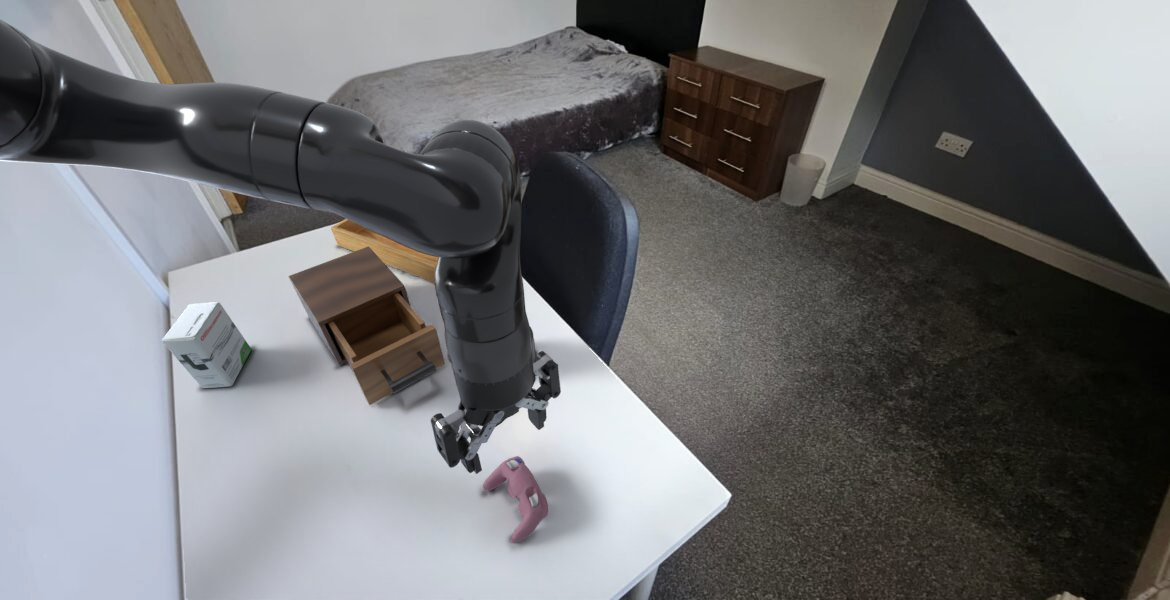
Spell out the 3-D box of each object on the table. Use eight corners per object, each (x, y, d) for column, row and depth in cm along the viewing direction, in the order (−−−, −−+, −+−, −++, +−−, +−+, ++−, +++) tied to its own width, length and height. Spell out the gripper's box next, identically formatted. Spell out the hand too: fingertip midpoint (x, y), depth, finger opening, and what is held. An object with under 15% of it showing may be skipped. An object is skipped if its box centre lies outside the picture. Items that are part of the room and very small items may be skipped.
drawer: (459, 380, 79) (450, 344, 73) (382, 425, 72) (365, 389, 66) (408, 319, 89) (396, 284, 84) (336, 353, 83) (318, 317, 77)
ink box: (224, 351, 84) (188, 301, 76) (253, 349, 84) (221, 299, 76) (200, 390, 77) (157, 340, 70) (231, 387, 78) (193, 337, 70)
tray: (338, 246, 109) (329, 225, 105) (387, 216, 119) (381, 196, 115) (440, 288, 98) (435, 267, 94) (485, 252, 108) (482, 231, 104)
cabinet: (417, 328, 89) (404, 285, 82) (339, 366, 82) (317, 322, 75) (383, 287, 98) (368, 246, 91) (309, 319, 90) (287, 276, 83)
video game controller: (540, 537, 62) (559, 502, 60) (511, 549, 59) (530, 513, 56) (506, 478, 68) (522, 444, 66) (478, 486, 65) (494, 451, 62)
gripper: (441, 418, 38) (470, 509, 48) (575, 335, 45) (575, 431, 56) (400, 363, 42) (435, 458, 53) (529, 296, 49) (536, 392, 60)
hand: (506, 444), depth 54 cm, fingers open, 8 cm apart
